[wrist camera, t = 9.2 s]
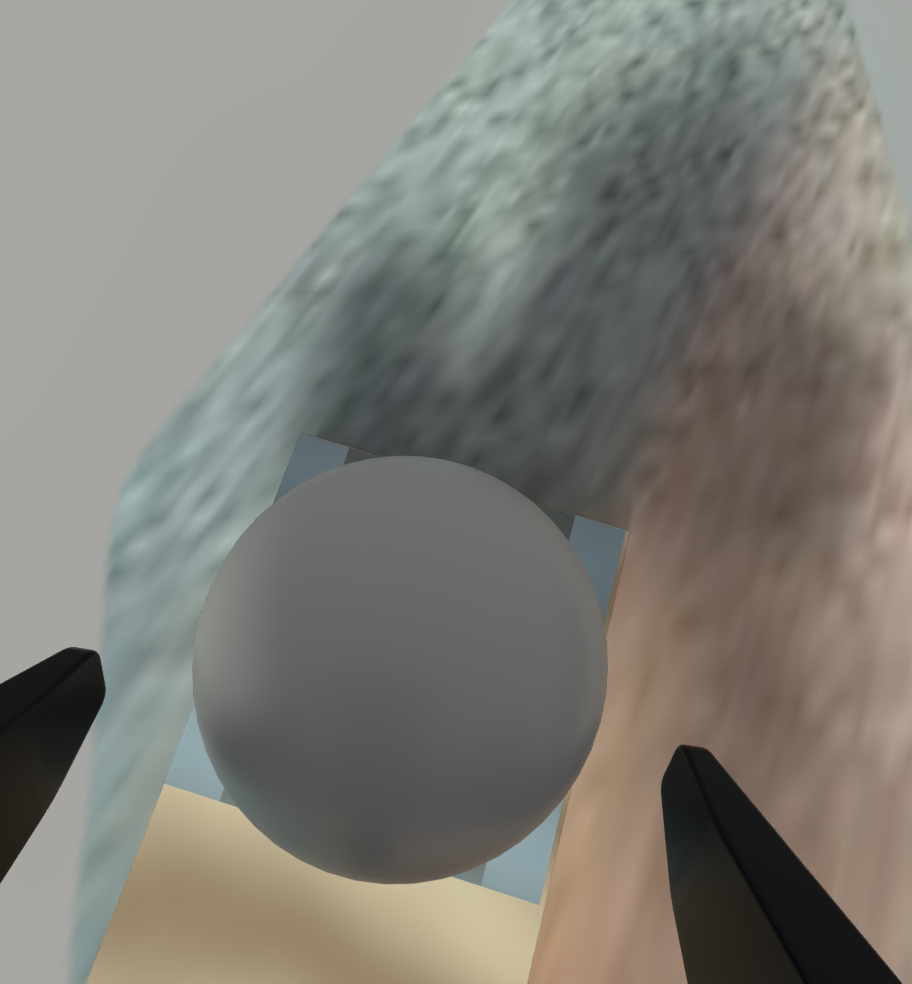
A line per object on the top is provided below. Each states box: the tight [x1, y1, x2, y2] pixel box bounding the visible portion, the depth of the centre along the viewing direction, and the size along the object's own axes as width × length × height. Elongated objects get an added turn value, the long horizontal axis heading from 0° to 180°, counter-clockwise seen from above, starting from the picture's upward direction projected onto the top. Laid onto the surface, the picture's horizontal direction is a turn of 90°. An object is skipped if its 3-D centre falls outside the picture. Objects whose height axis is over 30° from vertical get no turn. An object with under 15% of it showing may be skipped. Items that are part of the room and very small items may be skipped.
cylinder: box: [192, 456, 608, 884], centre depth 12 cm, size 4×4×14 cm
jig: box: [86, 433, 630, 984], centre depth 17 cm, size 16×11×4 cm
